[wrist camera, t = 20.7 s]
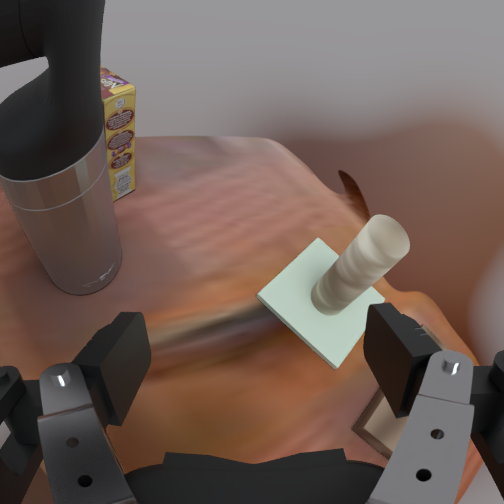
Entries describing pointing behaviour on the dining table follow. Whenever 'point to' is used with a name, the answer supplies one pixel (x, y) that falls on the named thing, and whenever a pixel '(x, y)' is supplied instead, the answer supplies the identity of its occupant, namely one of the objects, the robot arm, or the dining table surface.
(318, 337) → the sage pad
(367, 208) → the dining table surface
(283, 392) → the dining table surface
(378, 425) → the board
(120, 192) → the candy box
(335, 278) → the maple peg
